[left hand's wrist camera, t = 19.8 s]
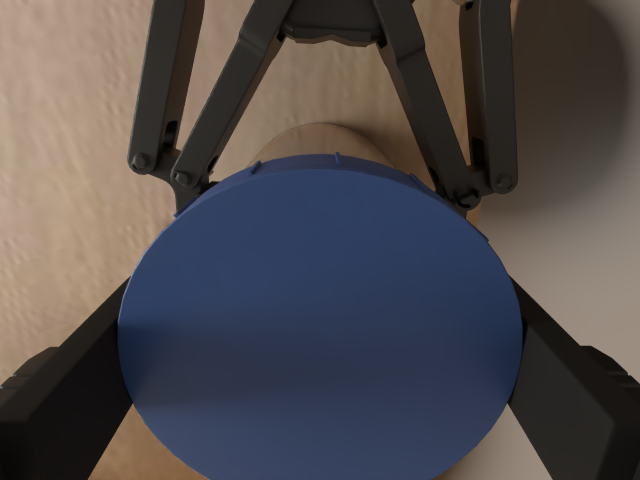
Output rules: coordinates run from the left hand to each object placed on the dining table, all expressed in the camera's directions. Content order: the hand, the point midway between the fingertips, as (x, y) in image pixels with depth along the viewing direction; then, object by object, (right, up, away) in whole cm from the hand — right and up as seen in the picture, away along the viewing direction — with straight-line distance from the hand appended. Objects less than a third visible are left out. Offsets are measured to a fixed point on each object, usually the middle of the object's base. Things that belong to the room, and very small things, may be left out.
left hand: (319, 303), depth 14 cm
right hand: (0, -2, +8) cm, 8 cm away
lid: (0, -1, -3) cm, 3 cm away
